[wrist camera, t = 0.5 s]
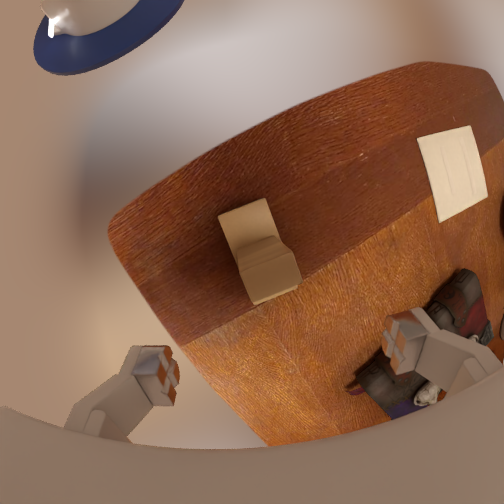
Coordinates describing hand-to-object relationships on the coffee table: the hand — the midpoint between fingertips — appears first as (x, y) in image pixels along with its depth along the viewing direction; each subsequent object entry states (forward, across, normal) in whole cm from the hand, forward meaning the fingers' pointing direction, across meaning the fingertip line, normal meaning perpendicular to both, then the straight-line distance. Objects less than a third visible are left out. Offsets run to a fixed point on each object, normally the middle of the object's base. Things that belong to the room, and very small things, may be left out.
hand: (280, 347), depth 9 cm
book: (+18, -25, +25) cm, 40 cm away
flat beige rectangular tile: (+24, -30, -2) cm, 39 cm away
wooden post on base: (+20, +1, +4) cm, 21 cm away
